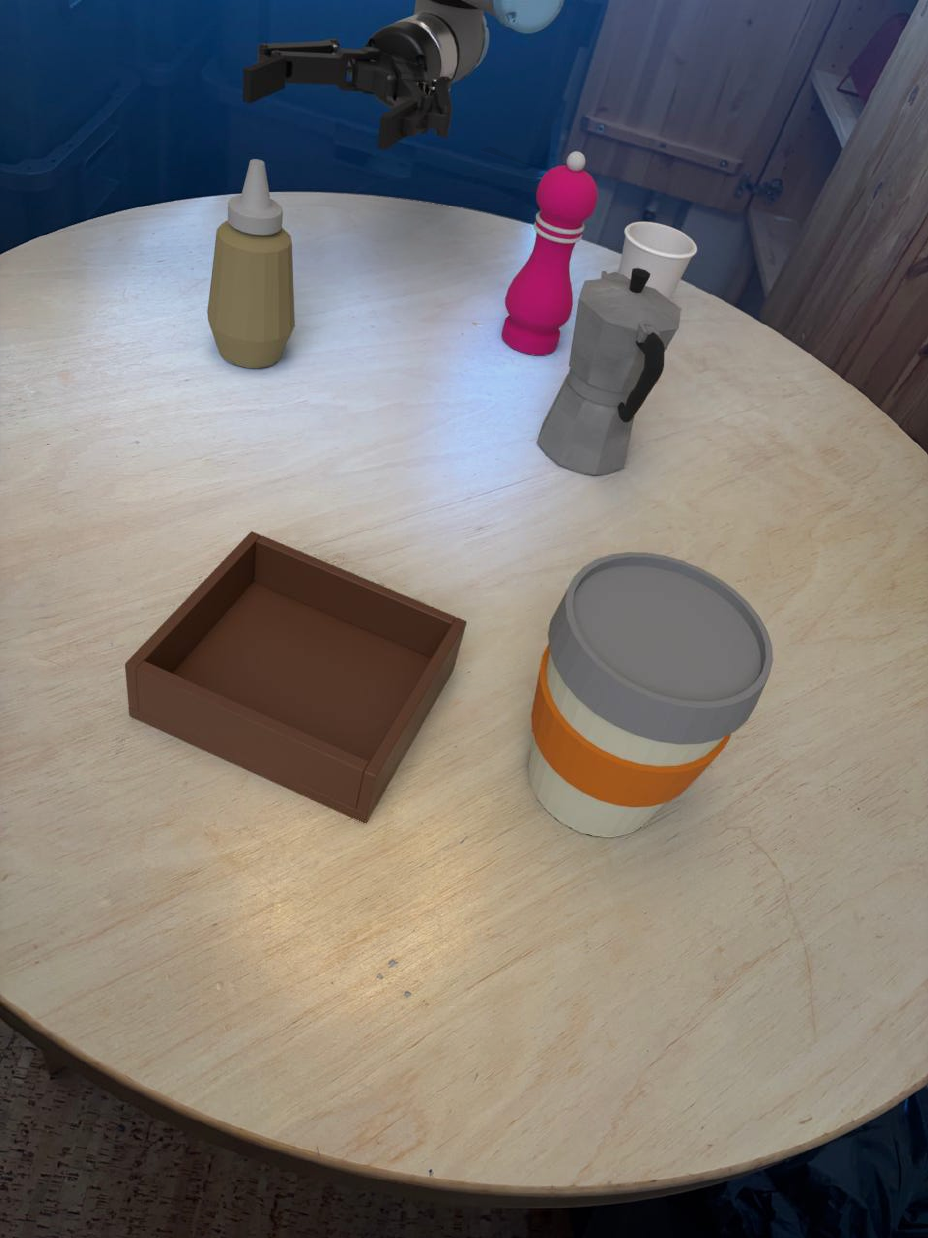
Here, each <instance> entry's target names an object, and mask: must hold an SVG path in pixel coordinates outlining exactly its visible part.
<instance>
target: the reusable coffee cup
mask: <svg viewBox="0 0 928 1238" xmlns="http://www.w3.org/2000/svg"><path fill="white" fill-rule="evenodd" d="M549 621H550V622H549V627H548V632H547V639H548V641H547V646H546V647H545V650H544V651H543V653H542V655H541V662H540V664H539V665H540V666H539V671H538V675H537V676H538V677H537V680H536V681H537V682H536V686H535V693H534V698H533V702H532V708H531V714H530V718H531V719H530V720H531V732H532V734H533V739H532V743H531V748H530V754H529V759H528V764H527V772H528V774H529V776H528V780H529V784H530V783H531V784H530V788H531V787H532V788H531V790H532V789H533V790H532V792H533V791H534V792H533V794H534V796H535V795H536V796H537V798H538V800H539V801H540V802H541V803H540V802H539V801H538V800H537V801H538V802H539V803H540V805H541V804H542V805H543V806H544V807H543V806H542V805H541V806H542V807H543V809H544V808H546V810H547V811H548V812H549V813H551V814H552V815H553V816H555V818H557V819H558V820H559V821H561V822H562V823H565V825H567V826H570V827H572V828H574V829H576V830H579V831H582V832H584V833H588V834H592V835H600V836H616V835H623V834H627V833H629V832H632V831H635V830H637V829H639V828H640V827H641V828H643V827H644V826H645V825H646V824H647V823H648V822H650V820H651V819H652V818H653V817H654V815H655V814H656V813H657V812H659V810H661V808H662V807H663V806H664V804H666V803H668V802H670V801H672V800H674V799H677V798H678V797H679V796H681V795H682V794H683V793H684V792H686V790H687V789H688V788H689V787H691V785H692V784H693V783H694V782H695V781H696V780H697V779H698V778H699V777H700V775H701V774H702V773H703V772H704V771H705V770H706V769H707V768H708V767H709V766H710V765H711V764H712V762H714V760H715V759H716V758H717V757H718V756H719V755H720V754H721V753H722V752H723V751H724V749H725V747H726V746H727V744H728V742H729V741H730V740H731V736H732V734H733V733H736V732H737V731H738V730H739V729H740V728H741V727H742V726H743V725H745V724H746V723H747V721H748V720H749V719H750V717H751V716H752V713H753V712H754V710H755V709H756V707H757V704H758V701H759V699H760V697H761V695H762V693H763V690H764V688H765V686H766V684H767V682H768V679H769V678H770V675H771V671H772V667H773V663H774V653H773V652H774V651H773V644H772V641H771V637H770V634H769V631H768V629H767V627H766V626H765V623H764V621H763V620H762V618H761V617H760V615H759V613H757V612H756V610H755V609H754V607H753V606H752V605H751V604H750V603H749V601H748V600H746V599H745V598H744V597H743V596H742V595H741V594H740V593H739V592H738V591H737V589H735V588H734V587H732V586H731V585H729V584H728V583H726V582H725V581H724V580H722V579H721V578H719V577H718V576H716V575H714V574H713V573H711V572H709V571H707V570H706V569H703V568H701V567H699V566H698V565H694V564H692V563H690V562H687V561H685V560H681V559H678V558H675V557H671V556H667V555H663V554H658V553H651V552H644V551H643V552H640V551H639V552H638V551H636V552H634V551H632V552H631V551H626V552H618V553H612V554H608V555H604V556H601V557H599V558H596V559H594V560H592V561H590V562H588V563H587V564H586V565H584V566H582V568H580V570H579V571H577V573H576V574H575V575H574V576H573V578H572V580H571V581H570V584H569V585H568V587H567V588H566V591H565V593H564V595H563V596H562V598H561V600H560V602H559V603H558V605H557V608H556V610H555V611H554V613H553V615H552V616H551V619H550V620H549ZM528 774H527V775H528ZM536 796H535V797H536ZM537 798H536V799H537ZM546 810H545V811H546ZM547 811H546V812H547ZM548 812H547V813H548ZM549 813H548V814H549ZM553 816H552V817H553ZM555 818H554V819H555ZM559 821H558V822H559ZM562 823H561V824H562ZM645 823H646V824H645ZM644 824H645V825H644ZM565 825H564V826H565ZM643 825H644V826H643ZM642 826H643V827H642ZM641 828H640V829H641ZM640 829H639V830H640ZM637 831H638V830H637ZM635 832H636V831H635Z"/></svg>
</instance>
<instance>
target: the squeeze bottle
mask: <svg viewBox="0 0 928 1238" xmlns="http://www.w3.org/2000/svg"><path fill="white" fill-rule="evenodd" d="M269 188H270V187H269V183H268V177H267V171H266V164H265V161H263V160H261V159H257V158H252V159H250V160H249V164H248V167H247V172H246V175H245V180H244V184H243V188H242V191H241V194H239V195H235V196H232V197H231V198H230V199H229V200H228V202H227V220H225V221H224V222H222V223H221V224H220V225H219V226H218V227H217V228H216V234H215V242H214V251H213V260H212V266H211V267H212V268H211V269H212V270H211V276H210V285H209V295H208V302H207V303H208V304H207V310H206V311H207V312H206V314H207V322H208V325H209V328H210V330H211V333H212V336H213V339H214V341H215V344H216V347H217V351H218V354H219V355H220V356H221V357H222V358H223V359H224V360H225V361H227V362H229V363H231V364H233V365H234V366H238V367H242V368H247V369H262V368H267V367H271V366H272V365H275V364H277V363H278V362H279V361H280V358H281V357H282V355H283V353H284V350H285V349H286V346H287V345H288V343H289V339H290V338H291V336H292V334H293V331H294V328H295V327H296V319H295V298H294V297H295V295H294V294H295V293H294V267H293V266H294V265H293V264H294V263H293V242H292V237H291V235H290V234H289V232H288V231H286V230H285V228H283V217H284V216H283V215H284V210H283V206H282V205H281V204H279V202H277V201H276V200H274V199H271V194H270V189H269Z"/></svg>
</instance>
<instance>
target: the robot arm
mask: <svg viewBox="0 0 928 1238" xmlns="http://www.w3.org/2000/svg"><path fill="white" fill-rule="evenodd" d="M564 2H565V0H415V5H414V11H413V15H411V16H408V17H406V18H403V19H400V20H398V21H395V22H394V23H391V24H389V25H385V26H384V27H382V28H380V29H378V30H377V31H375V32H374V33H373V34H372V35H371V37H370V38H369V39H368V40H367V42H366V43H365V45H364V46H363V47H362V48H361V49H357V48H340V40H338V39H336V38H328V39H324V40H320V41H301V42H276V43H264V42H263V43H259V44H258V45H257V62H255V63H253V64H251V65H249V66H246V67H243V69H242V73H243V74H242V102H244V103H247V104H253V103H256V102H257V101H259V100H261V99H263V98H266V97H268V96H270V95H272V94H275V93H278V92H280V91H282V90H284V89H286V84H294V85H295V84H297V85H323V86H324V85H325V86H336V87H337V88H338V90H341V91H343V92H361V93H363V94H364V95H372V96H374V97H375V99H376V100H377V101H379V102H380V103H381V104H382V105H384V106H386V107H388V108H391V109H389V110H388V111H386V112H384V113H383V114H381V115H380V117H379V118H380V120H379V126H378V127H379V128H378V136H377V144H376V148H377V149H379V150H382V151H386V150H387V149H389V148H390V147H392V146H394V145H396V144H397V143H399V142H400V141H402V140H403V139H405V138H407V137H411V138H412V137H415V136H417V135H419V134H428V133H429V130H434V133H435V135H436V136H437V137H439V138H445V139H446V138H448V137H449V134H450V128H451V127H450V126H451V121H452V116H453V115H452V114H453V105H452V100H451V96H450V95H451V94H450V93H451V89H452V88H451V86H452V84H454V83H456V82H459V81H461V80H463V79H465V78H467V77H468V76H470V75H471V74H472V73H473V71H474V69H476V68H477V67H478V66H479V65H480V64H481V63H482V62H483V61H484V59H485V57H486V55H487V52H488V49H489V46H490V31H489V26H488V22H487V19H486V16H485V15H484V13H487V14H489V15H490V16H493V17H494V18H496V19H497V21H498V22H499V23H500V24H501V25H503V26H504V27H506V28H510V29H512V30H514V31H516V32H518V33H521V34H534V33H537V32H539V31H541V30H542V31H543V30H544V29H545V28H546V27H547V28H548V26H549V25H550V24H551V23H552V22H553V21H554V20H556V18H557V16H558V15H559V13H560V12H561V10H562V8H563V6H564ZM347 75H348V76H349V79H350V80H347V79H348V77H347Z"/></svg>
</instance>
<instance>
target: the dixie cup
mask: <svg viewBox="0 0 928 1238" xmlns="http://www.w3.org/2000/svg"><path fill="white" fill-rule="evenodd" d="M697 252H698V246H697V244H696V242H695V241H694V240H693V239H692V238H691V237H690V236H689V235H687V234H686V233H684V232H683V231H680V230H678V229H677V228H674V227H672V226H669V225H666V224H662V223H659V222H653V221H636V222H632V223H630V224H628V225H627V226H626V227H624V240H623V247H622V252H621V256H620V257H621V258H620V263H619V267H618V273H620V274H621V275H625V276H626V277H627V278H629V279H630V280H631V275H632V269H634V268H640V269H643V270H646V271H647V272H649V273H650V277H649V279H648V281H647V283H646V284H645V286H648V287H651V288H655V289H656V290H657V291H659V292H660V293H661V294H663V295H664V296H665V297H666V298H668V299H669V300H670V301H671V299H672V297H673V295H674V293H675V291H676V289H677V287H678V285H679V284H680V283H679V282H680V281H681V279H682V277H683V276H684V273H685V271H686V270H687V267H688V265H689V264H690V262H691V259H692V257H694V256H695V255H696V254H697Z"/></svg>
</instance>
